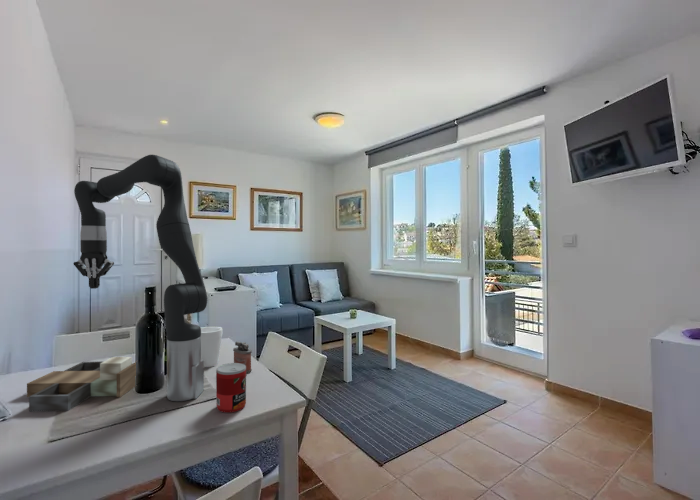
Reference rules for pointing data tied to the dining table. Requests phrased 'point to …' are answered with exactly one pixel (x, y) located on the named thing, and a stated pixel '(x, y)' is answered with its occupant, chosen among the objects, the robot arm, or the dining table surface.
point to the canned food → (231, 387)
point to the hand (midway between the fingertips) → (94, 288)
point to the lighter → (243, 355)
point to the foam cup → (210, 345)
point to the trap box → (76, 386)
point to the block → (113, 367)
